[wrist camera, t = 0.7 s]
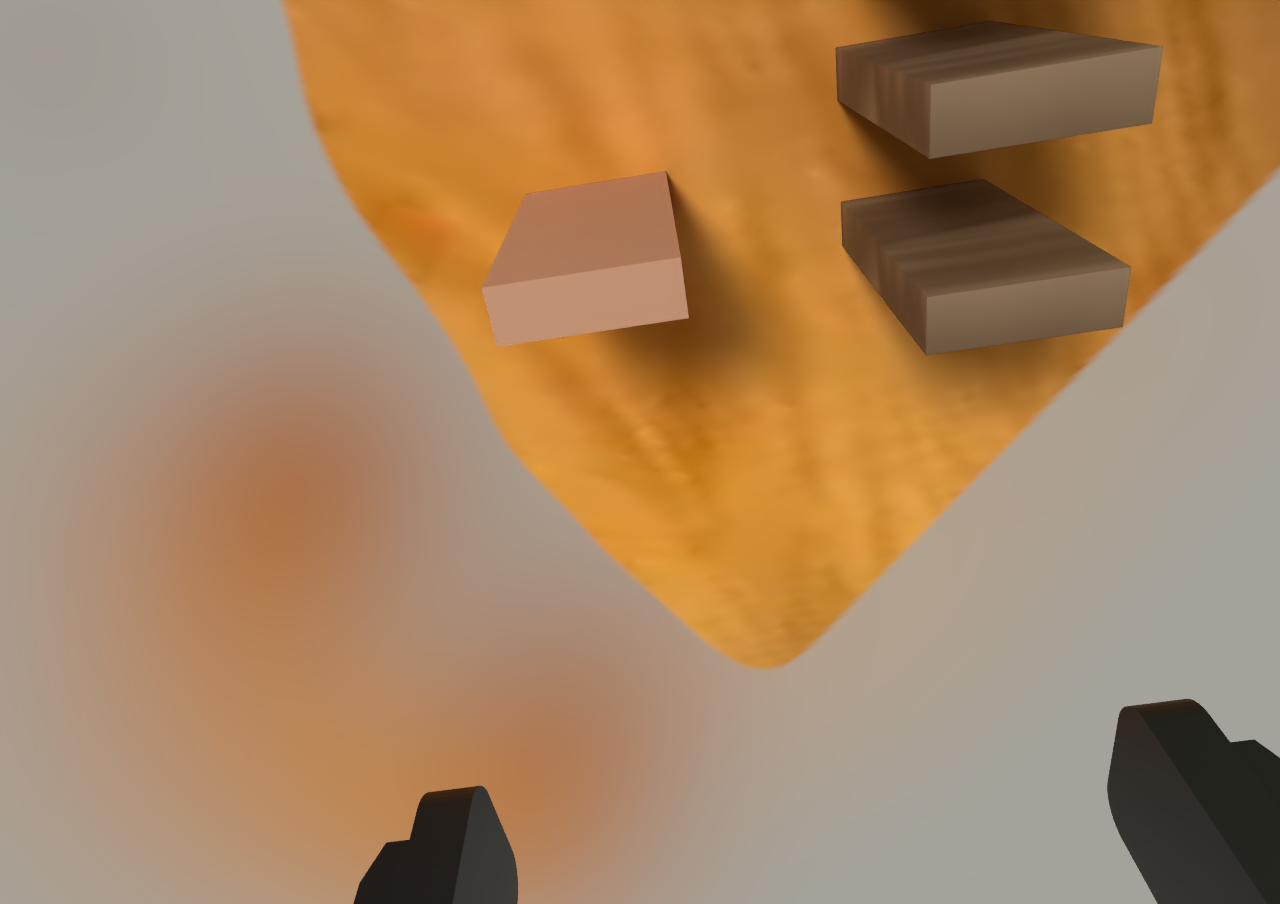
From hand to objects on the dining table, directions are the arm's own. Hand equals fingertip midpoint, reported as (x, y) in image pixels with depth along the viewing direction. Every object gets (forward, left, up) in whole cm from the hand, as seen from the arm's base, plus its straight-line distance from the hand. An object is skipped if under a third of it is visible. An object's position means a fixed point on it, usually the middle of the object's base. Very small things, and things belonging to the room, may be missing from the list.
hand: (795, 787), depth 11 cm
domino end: (-2, -3, -23) cm, 23 cm away
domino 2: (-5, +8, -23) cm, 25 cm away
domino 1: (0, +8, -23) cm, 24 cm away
